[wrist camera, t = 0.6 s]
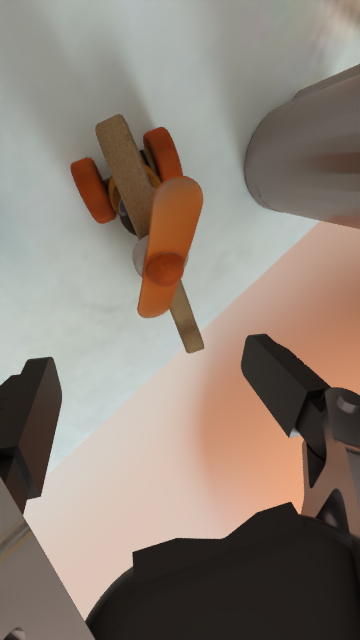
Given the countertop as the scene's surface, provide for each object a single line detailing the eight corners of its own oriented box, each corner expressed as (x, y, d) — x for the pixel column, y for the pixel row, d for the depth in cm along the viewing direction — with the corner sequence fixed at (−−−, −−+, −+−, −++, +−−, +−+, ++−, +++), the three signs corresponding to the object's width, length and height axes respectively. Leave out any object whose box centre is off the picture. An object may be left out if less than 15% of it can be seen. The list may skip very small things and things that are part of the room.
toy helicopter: (154, 115, 20) (210, 40, 9) (211, 308, 32) (266, 381, 21) (65, 150, 20) (6, 119, 9) (155, 331, 32) (179, 419, 20)
